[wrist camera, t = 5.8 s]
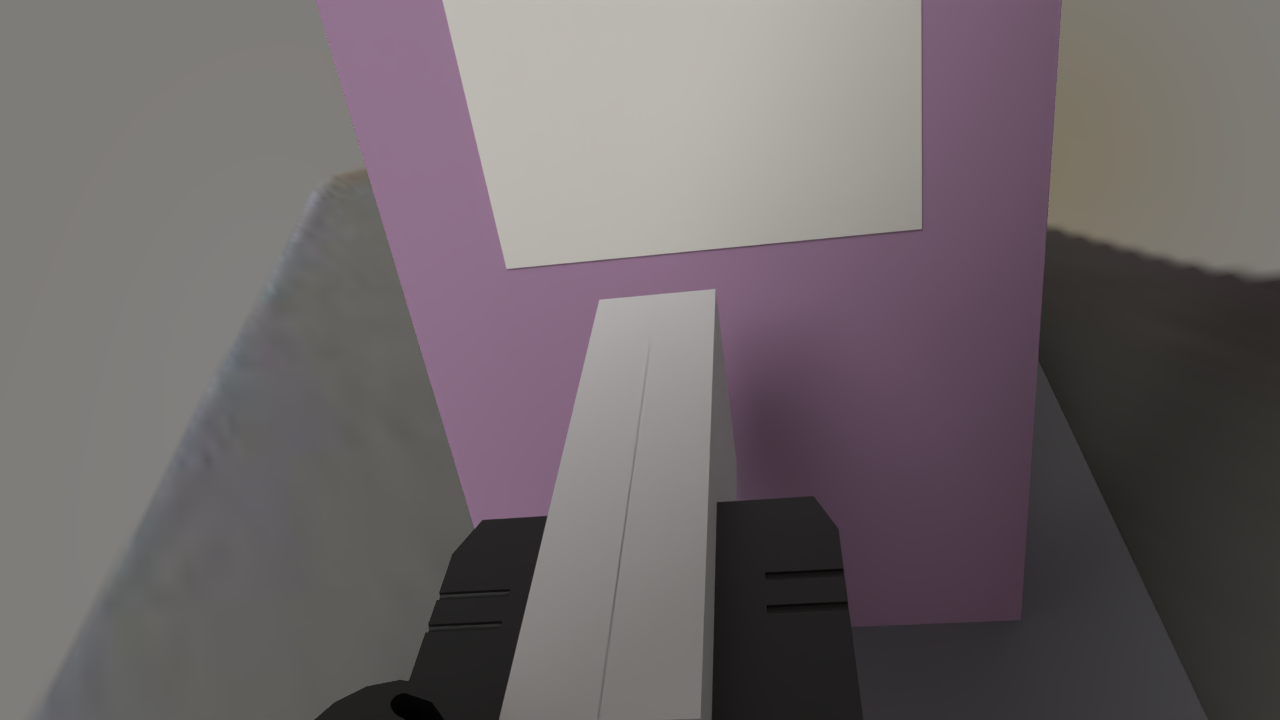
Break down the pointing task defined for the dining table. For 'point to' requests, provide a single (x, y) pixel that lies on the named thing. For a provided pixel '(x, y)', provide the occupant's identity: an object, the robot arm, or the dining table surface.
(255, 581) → the dining table surface
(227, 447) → the dining table surface
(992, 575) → the box
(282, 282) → the dining table surface
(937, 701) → the mat
